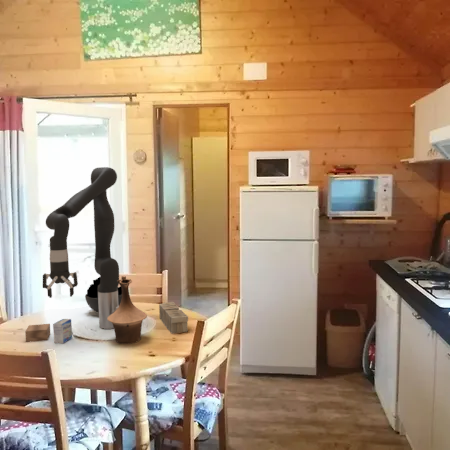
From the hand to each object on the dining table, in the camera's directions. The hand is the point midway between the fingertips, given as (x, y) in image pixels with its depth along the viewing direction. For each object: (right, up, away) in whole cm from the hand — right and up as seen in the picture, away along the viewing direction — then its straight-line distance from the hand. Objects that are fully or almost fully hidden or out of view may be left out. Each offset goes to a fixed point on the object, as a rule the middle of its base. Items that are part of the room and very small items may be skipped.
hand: (60, 296), depth 212 cm
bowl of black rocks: (+9, -15, +45) cm, 48 cm away
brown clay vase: (+29, -19, +1) cm, 35 cm away
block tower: (+46, -17, +22) cm, 54 cm away
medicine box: (0, -20, +2) cm, 20 cm away
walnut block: (-12, -20, +6) cm, 24 cm away
